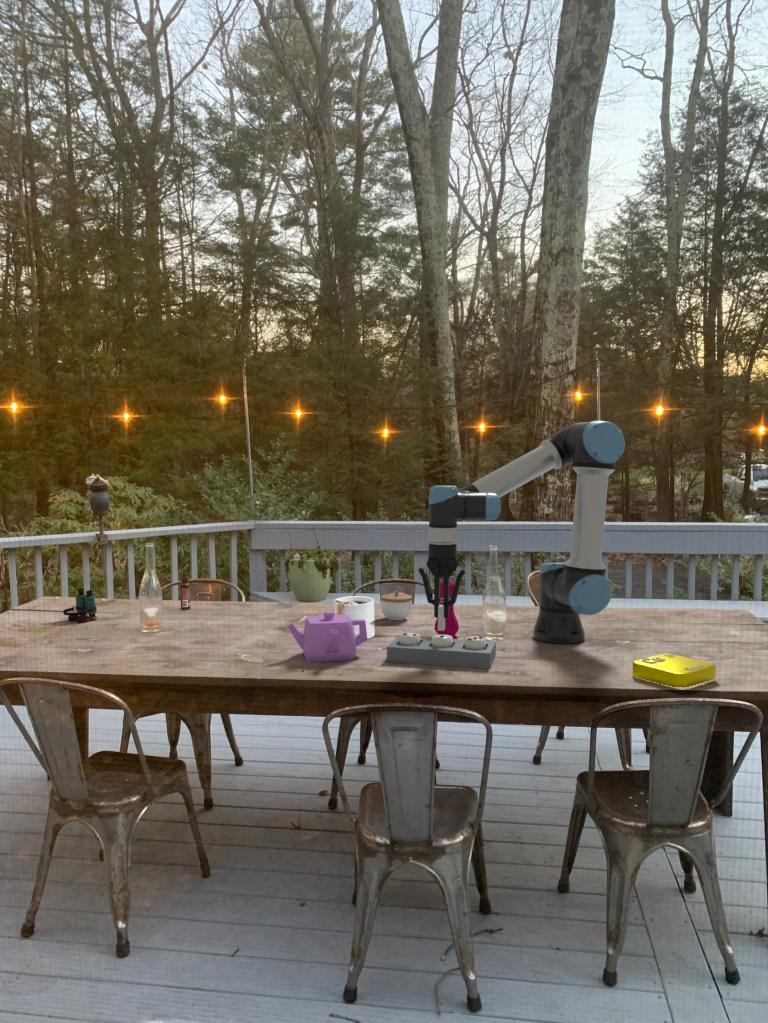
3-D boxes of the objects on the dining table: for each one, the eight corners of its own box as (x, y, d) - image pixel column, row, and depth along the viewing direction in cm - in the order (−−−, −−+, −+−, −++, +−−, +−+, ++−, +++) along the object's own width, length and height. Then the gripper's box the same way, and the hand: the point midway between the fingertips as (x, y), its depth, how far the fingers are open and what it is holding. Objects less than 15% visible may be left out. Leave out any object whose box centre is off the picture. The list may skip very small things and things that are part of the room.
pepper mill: (457, 645, 222) (457, 577, 220) (432, 644, 223) (433, 576, 222) (460, 639, 229) (460, 573, 227) (436, 638, 230) (436, 572, 229)
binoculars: (56, 593, 253) (82, 586, 261) (60, 624, 254) (86, 615, 263) (73, 596, 248) (99, 588, 256) (77, 627, 250) (103, 618, 258)
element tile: (682, 693, 178) (682, 673, 178) (628, 678, 190) (629, 659, 190) (719, 682, 186) (719, 663, 186) (665, 668, 199) (666, 650, 198)
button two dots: (421, 645, 211) (421, 632, 211) (417, 650, 206) (417, 636, 205) (402, 644, 212) (402, 631, 212) (397, 649, 207) (397, 635, 207)
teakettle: (371, 653, 213) (371, 610, 212) (334, 667, 199) (333, 620, 198) (323, 645, 222) (323, 603, 221) (285, 658, 208) (284, 613, 207)
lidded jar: (414, 616, 262) (415, 589, 262) (408, 623, 252) (408, 595, 251) (384, 615, 265) (384, 588, 264) (377, 621, 254) (377, 593, 254)
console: (495, 655, 210) (495, 641, 210) (490, 668, 197) (490, 653, 197) (398, 649, 217) (398, 635, 216) (386, 661, 204) (386, 646, 204)
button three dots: (486, 649, 207) (487, 635, 206) (484, 654, 201) (484, 640, 201) (466, 648, 208) (466, 634, 208) (463, 653, 203) (463, 639, 202)
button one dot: (453, 647, 209) (454, 634, 209) (450, 652, 203) (450, 638, 203) (433, 646, 210) (433, 632, 210) (430, 651, 205) (430, 637, 205)
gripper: (468, 542, 207) (467, 628, 208) (421, 540, 210) (420, 625, 212) (464, 545, 200) (463, 634, 201) (415, 543, 203) (414, 631, 204)
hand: (441, 629), depth 206 cm, fingers closed
